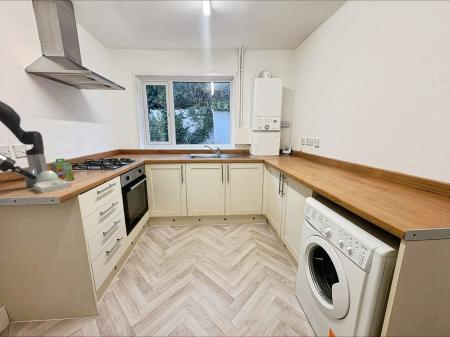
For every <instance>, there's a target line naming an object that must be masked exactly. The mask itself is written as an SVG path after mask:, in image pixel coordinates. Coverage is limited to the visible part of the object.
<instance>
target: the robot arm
mask: <svg viewBox="0 0 450 337" xmlns="http://www.w3.org/2000/svg"><path fill="white" fill-rule="evenodd" d="M21 120H22V119H21V116H20V115H19V114H18V112H17V111H15V109H13V107H11V106H10V105H8V104H7V103H5V102H3V101H1V100H0V122H1V123H2V124H3V125H4V126H5V127H7V129H8V130H10V132H11V133H12V134H13V135H14V136H15V138H17V140H18V141H19V142H20V143H21V144H22V145H26V146H28V145H29V146H31V145H32V148H30V149H26V151H25V155H26V159H27V163H28V169H31V168H36V172H37V177H38V175H39V174H40V173H41V172H43V171H49V170H48V166H47V165H48V164H47V161H46V157H45V156H46V155H45V149H44V140H43V136H42V134H41V132H39V131H37V130H33V131H32V130H30V131H29V130H27V131H26V130H24V129H22V127H21ZM9 170H10V172H11V173H14V174H17V175H19V176H25V177H28V178H30V179H33V180H35V179H36V178H37V177H36V176H34V175H32V174H30V173H29V172H26V170H24V168H22V167H21V166H19V165H16V160H14V159H12V158H10V157H8V156H6V155H4V154H3V153H0V171H1V172H3V173H7V171H9ZM25 172H26V174H25V175H24V173H25ZM25 177H24V178H25Z"/></svg>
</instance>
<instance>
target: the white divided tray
mask: <svg viewBox="0 0 450 337" xmlns="http://www.w3.org/2000/svg"><path fill="white" fill-rule="evenodd" d="M71 184H72V183H71V181H65V180H62V179H60V178H58V176H57V174H56V173H55V172H53V171H52V170H48V171H43V172H41V173H40V174H39V175H38V182H35V184H33V186H34V188H33V189H34V190H35V191H37V192H39V193H41V194H45V193H49V191H50V192H53V191H54V192H55V191H59V190H64V189H68V188H71V187H72V185H71Z"/></svg>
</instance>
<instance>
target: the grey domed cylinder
mask: <svg viewBox="0 0 450 337" xmlns="http://www.w3.org/2000/svg"><path fill="white" fill-rule="evenodd" d="M23 169H24V168H23ZM24 170H26V172H29V173H30V174H32V175H34V176H36V177H37V172H36V168H31V169H29V168H25V169H24ZM26 172H25V173H24V175H25V174H26ZM24 175H23V176H24ZM24 180H25V185H26V188H27V189H34V186H33V184H35V182H38V177H37V178H36V179H35V180H33V179H30V178H28V177H25V176H24Z"/></svg>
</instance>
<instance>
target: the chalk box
mask: <svg viewBox="0 0 450 337" xmlns="http://www.w3.org/2000/svg"><path fill="white" fill-rule="evenodd" d="M60 161H61V162H60ZM50 168H51V171H53V172H55V173H56V174H57V176H58V178H60V179H62V180H65V181H68V182H71V181H74V180H75V176H74V170H73V164H72V163H70V162H66V161H65V159H64V158H63V157H62V158H56V159H55V163H51V164H50Z"/></svg>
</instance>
